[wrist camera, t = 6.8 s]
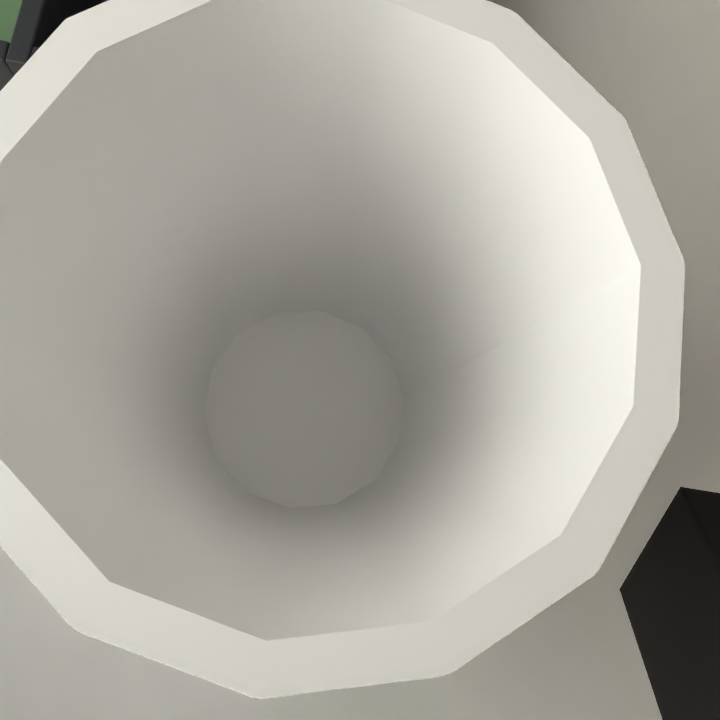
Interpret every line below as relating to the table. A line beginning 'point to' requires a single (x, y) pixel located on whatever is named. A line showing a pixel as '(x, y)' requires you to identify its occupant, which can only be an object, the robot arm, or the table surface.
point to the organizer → (31, 29)
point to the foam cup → (322, 333)
